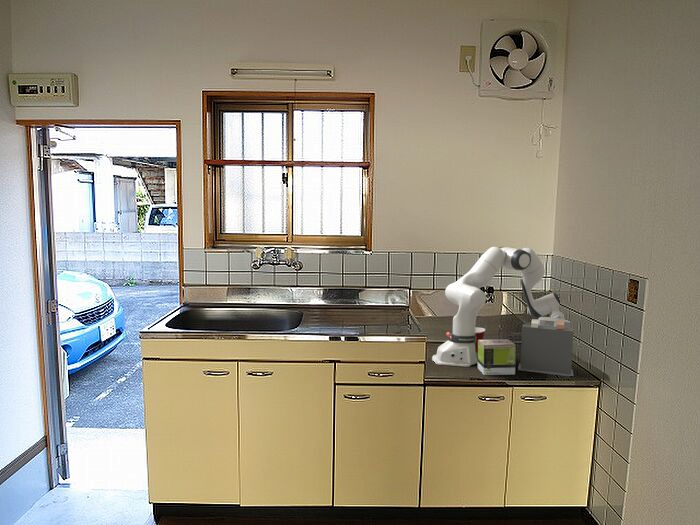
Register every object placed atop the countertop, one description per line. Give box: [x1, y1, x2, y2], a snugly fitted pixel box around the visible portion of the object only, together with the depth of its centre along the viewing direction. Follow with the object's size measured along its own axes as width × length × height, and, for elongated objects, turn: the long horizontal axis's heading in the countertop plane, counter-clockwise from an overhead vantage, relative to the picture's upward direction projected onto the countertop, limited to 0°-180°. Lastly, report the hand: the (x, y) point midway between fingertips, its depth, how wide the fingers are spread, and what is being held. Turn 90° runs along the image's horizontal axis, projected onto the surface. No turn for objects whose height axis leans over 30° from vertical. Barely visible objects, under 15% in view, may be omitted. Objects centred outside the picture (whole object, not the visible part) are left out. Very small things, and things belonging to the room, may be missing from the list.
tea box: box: [477, 338, 517, 376], centre depth 224 cm, size 15×10×15 cm
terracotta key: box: [555, 321, 564, 329], centre depth 225 cm, size 4×10×7 cm, turn 157°
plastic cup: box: [475, 326, 486, 353], centre depth 258 cm, size 11×11×12 cm
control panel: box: [517, 323, 574, 377], centre depth 225 cm, size 24×8×21 cm, turn 67°
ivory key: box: [530, 318, 539, 328], centre depth 228 cm, size 4×10×7 cm, turn 157°
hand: (559, 326), depth 239 cm, fingers closed
